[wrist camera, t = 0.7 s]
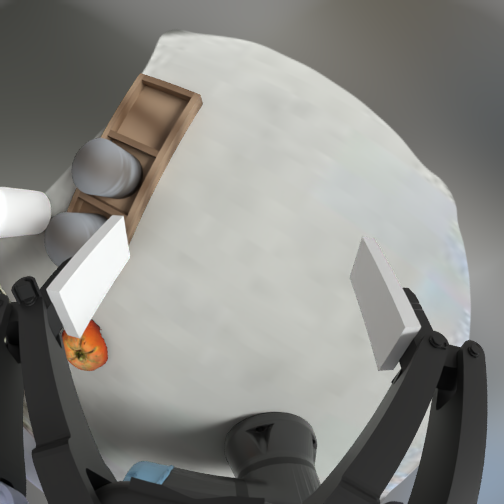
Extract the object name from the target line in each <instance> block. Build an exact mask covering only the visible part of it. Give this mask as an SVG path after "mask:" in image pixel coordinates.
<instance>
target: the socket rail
mask: <svg viewBox="0 0 504 504" xmlns="http://www.w3.org/2000/svg"><path fill="white" fill-rule="evenodd" d="M202 104H203V103H202V99H201V95H199V94H197V93H194V92H192V91H189V90H187V89H184V88H181V87H179V86H176V85H173V84H171V83H168V82H165V81H162V80H159V79H156V78H153V77H150V76H147V75H144V74H140V75H139V76H138V77H137V79H136V80H135V82H134V83H133V85H132V86H131V88H130V89H129V91H128V92H127V94H126V95H125V97H124V98H123V100H122V102H121V103H120V105H119V106H118V108H117V110H116V111H115V113H114V115H113V116H112V118H111V120H110V122H109V123H108V125H107V127H106V129H105V130H104V132H103V134H102V136H101V138H96V139H93V140H91V141H88V142H87V143H85V144H84V145H83V146H82V147H81V148H80V149H79V151H78V152H77V154H76V156H75V158H74V161H73V164H72V178H73V181H74V183H75V185H76V187H77V188H76V190H75V193H74V195H73V197H72V200H71V202H70V205H69V207H68V210H67V212H64V213H59V214H57V215H55V216H54V217H53V218H52V219H51V220H50V222H49V223H48V225H47V228H46V231H45V248H46V251H47V254H48V256H49V258H50V259H51V260H52V262H53V263H54V264H56V265H57V266H60V265H61V263H62V262H64V261H65V260H67V259H68V258H70V257H72V258H73V256H74V255H75V254H76V253H77V252H78V251H79V250H80V249H81V247H82V246H83V245H84V244H85V243H86V242H87V241H88V240H89V239H90V238H91V237H92V236H93V234H94V233H95V232H96V231H97V230H98V229H99V228H100V227H101V226H102V225H103V224H104V223H105V222H106V221H107V220H108V219H109V218H110V217H111V216H112V215H117V216H124V222H125V228H126V235H127V241H128V246H129V244H130V241H131V239H132V237H133V235H134V232H135V230H136V228H137V225H138V223H139V221H140V219H141V217H142V215H143V212H144V210H145V208H146V206H147V204H148V202H149V200H150V198H151V196H152V194H153V192H154V190H155V188H156V186H157V184H158V182H159V180H160V178H161V176H162V174H163V172H164V170H165V168H166V166H167V165H168V163H169V161H170V159H171V157H172V155H173V153H174V152H175V150H176V148H177V146H178V145H179V143H180V141H181V139H182V138H183V136H184V134H185V132H186V131H187V129H188V127H189V126H190V124H191V122H192V121H193V119H194V117H195V116H196V114H197V112H198V111H199V109H200V108H201V106H202Z"/></svg>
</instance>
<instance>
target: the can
mask: <svg viewBox="0 0 504 504" xmlns="http://www.w3.org/2000/svg"><path fill="white" fill-rule="evenodd" d="M50 218H51V204H50V201H49V199H48V197H47V196H46V195H45V194H44V193H43V192H40V191H32V190H25V189H17V188H8V187H0V238H6V237H16V236H25V235H34V234H39V233H42V232H43V231H44V230H45V229H46V228H47V225H48V223H49V222H50Z"/></svg>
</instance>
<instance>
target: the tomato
mask: <svg viewBox="0 0 504 504" xmlns="http://www.w3.org/2000/svg"><path fill="white" fill-rule="evenodd" d="M99 330H100V327H99V326H98V325H97V324H96V323H95V322H94V321H93V320H90V322H89V324H88V325H87V327H86V329H85V331H84V332H83V334H82V336H81V338H76V337H72V336H69V335H67V333H66V331H65V329H64V331H63V333H62V339H63V344H64V348H65V352H66V357H67V360H68V361H69V362H70V363H71V364H72V365H74V366H75V367H77V368H78V369H81V370H86V371H92V370H95V369H97V368H99V367H101V366H102V365H104V364H105V363H106V361H107V359H108V355H107V346H106V344H105V342H104V339H103V338H102V337H101V333H100V331H99Z"/></svg>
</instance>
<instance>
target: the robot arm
mask: <svg viewBox="0 0 504 504" xmlns="http://www.w3.org/2000/svg"><path fill="white" fill-rule="evenodd" d="M129 258H130V252H129V247H128V241H127V235H126V228H125V222H124V216H117V215H112V216H111V217H110V218H109V219H108V220H107V221H106V222H105V223H104V224H103V225H102V226H101V227H100V228H99V229H98V230H97V231H96V232H95V233H94V234H93V236H92V237H91V238H90V239H89V240H88V241H87V242H86V243H85V244H84V245H83V246H82V247H81V249H80V250H79V251H78V252H77V253H76V254H75V255H74V256H73V258H72V257H70V258H68V259H67V260H65V261H64V262H62V263H61V265H60V266H59V267H58V268H57V270H55V272H54V273H53V275H51V276H50V278H49V279H48V280H47V281H46V282H45V284H44V285H43V286H42V287H41V289H40V290H39V287H38V285H37V283H36V280H35V278H33V277H30V276H27V277H23V278H21V279H19V280H18V281H17V282H15V284H14V285H13V286H12V293H13V295H14V297H15V299H16V301H17V302H10V300H9V298H8V296H7V295H5V294H0V504H29V503H28V501H27V499H26V473H25V462H24V447H23V397H24V390H25V396H26V402H27V407H28V412H29V417H30V422H31V426H32V430H33V434H34V438H35V442H36V448H35V449H33V450H32V458H33V462H34V465H35V469H36V472H37V475H38V478H39V480H40V483H41V486H42V489H43V491H44V494H45V496H46V499H47V501H48V504H380V500H379V498H380V496H381V494H382V492H383V491H384V489H385V488H386V486H387V485H388V483H389V481H390V480H391V478H392V477H393V475H394V473H395V472H396V470H397V468H398V466H399V465H400V463H401V461H402V459H403V458H404V456H405V454H406V452H407V450H408V448H409V447H410V445H411V443H412V441H413V439H414V437H415V435H416V433H417V431H418V429H419V426H420V424H421V422H422V420H423V418H424V416H425V413H426V411H427V409H428V406H429V404H430V401H431V399H432V403H431V410H430V416H429V422H428V428H427V433H426V438H425V443H424V448H423V452H422V456H421V460H420V464H419V468H418V472H417V475H416V479H415V482H414V486H413V489H412V492H411V495H410V498H409V501H408V504H477V499H478V495H479V490H480V485H481V479H482V472H483V466H484V457H485V448H486V434H487V379H486V364H485V354H484V351H483V349H482V347H481V346H480V345H479V344H478V343H476V342H474V341H471V340H468V341H465V343H464V344H463V345H462V346H461V347H457V346H453V345H449V343H448V341H447V339H446V338H445V337H444V336H443V335H442V334H441V333H439V332H436V331H433V329H432V327H431V325H430V323H429V321H428V319H427V317H426V315H425V313H424V311H423V310H422V307H421V305H420V304H419V301H418V299H417V297H416V295H415V294H414V293H413V292H412V291H411V290H410V289H409V288H402V286H401V284H400V283H399V281H398V279H397V277H396V275H395V273H394V271H393V269H392V268H391V266H390V264H389V262H388V260H387V259H386V257H385V255H384V253H383V251H382V250H381V248H380V246H379V245H378V243H377V241H376V239H375V238H371V237H362V239H361V242H360V246H359V249H358V253H357V256H356V259H355V262H354V265H353V269H352V272H351V275H350V279H351V282H352V285H353V288H354V291H355V294H356V297H357V300H358V303H359V306H360V309H361V313H362V316H363V319H364V322H365V325H366V329H367V332H368V335H369V339H370V342H371V346H372V349H373V353H374V356H375V360H376V364H377V367H378V371H380V370H393V369H394V368H395V366H396V365H397V364H398V362H400V366H401V370H400V371H399V372H398V374H397V375H396V376H395V378H394V379H393V380H392V382H391V383H392V385H391V387H390V388H389V390H388V392H387V394H386V395H385V397H384V399H383V400H382V402H381V404H380V405H379V407H378V408H377V410H376V412H375V413H374V415H373V416H372V418H371V419H370V421H369V422H368V424H367V425H366V427H365V428H364V430H363V431H362V433H361V434H360V436H359V437H358V438H357V440H356V441H355V443H354V444H353V445H352V447H351V448H350V449H349V451H348V452H347V453H346V455H345V456H344V457H343V459H342V460H341V461H340V462H339V464H338V465H337V466H336V467H335V469H334V470H333V471H332V472H331V473H330V475H329V476H328V477H327V478H326V479H325V481H324V482H323V483H322V484H320V481H319V478H318V476H317V473H316V470H315V459H316V449H317V440H316V436H315V434H314V431H313V429H312V427H311V425H310V424H309V423H308V422H307V421H305V420H304V419H302V418H300V417H298V416H296V415H292V414H288V413H265V414H260V415H256V416H253V417H250V418H248V419H245V420H243V421H242V422H240V423H238V424H237V425H236V426H235V427H233V428H232V429H231V431H230V432H229V433H228V435H227V437H226V440H225V456H226V460H227V462H228V463H229V465H230V467H231V469H232V471H233V473H234V475H235V477H236V478H231V477H223V476H216V475H210V474H204V473H199V472H193V471H189V470H184V469H179V468H175V467H174V466H172V465H170V466H166V465H161V464H157V463H153V462H148V461H141V462H138V463H136V464H134V465H133V466H132V467H131V468H130V470H129V471H128V473H127V474H126V476H125V478H124V480H123V481H119V482H117V480H116V479H115V477H114V475H113V474H112V472H111V471H110V469H109V468H108V467H107V466H106V464H105V463H104V461H103V459H102V457H101V455H100V453H99V451H98V448H97V446H96V444H95V441H94V439H93V437H92V434H91V432H90V429H89V427H88V424H87V421H86V419H85V416H84V413H83V410H82V408H81V405H80V402H79V399H78V396H77V392H76V389H75V386H74V383H73V379H72V376H71V372H70V368H69V364H68V361H67V357H66V352H65V348H64V344H63V339H62V336H61V334H60V330H61V329H62V327H64V329H65V331H66V333H67V335H69V336H72V337H76V338H81V336H82V334H83V332H84V331H85V329H86V327H87V325H88V324H89V322H90V320H91V318H92V317H93V315H94V313H95V312H96V310H97V308H98V307H99V305H100V303H101V302H102V300H103V298H104V297H105V295H106V294H107V292H108V290H109V289H110V287H111V286H112V284H113V283H114V281H115V279H116V278H117V276H118V275H119V273H120V272H121V270H122V269H123V267H124V266H125V264H126V263H127V261H128V260H129ZM5 339H6V342H5Z"/></svg>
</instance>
